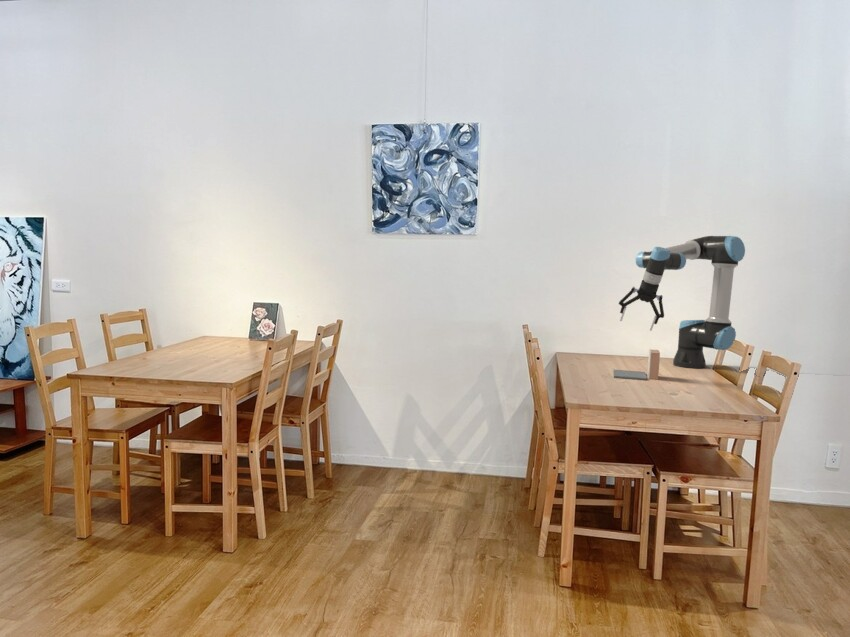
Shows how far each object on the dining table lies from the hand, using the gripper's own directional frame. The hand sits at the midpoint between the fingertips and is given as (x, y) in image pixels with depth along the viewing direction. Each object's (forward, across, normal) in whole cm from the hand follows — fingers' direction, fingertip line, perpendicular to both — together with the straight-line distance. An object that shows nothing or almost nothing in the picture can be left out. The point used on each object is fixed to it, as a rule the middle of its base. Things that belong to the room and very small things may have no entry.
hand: (635, 325), depth 300 cm
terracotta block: (+19, +14, -6) cm, 25 cm away
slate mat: (+22, +5, -7) cm, 23 cm away
